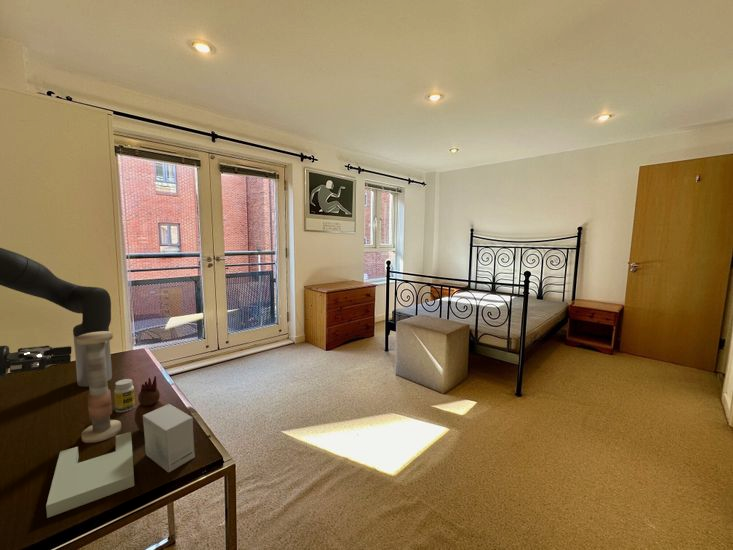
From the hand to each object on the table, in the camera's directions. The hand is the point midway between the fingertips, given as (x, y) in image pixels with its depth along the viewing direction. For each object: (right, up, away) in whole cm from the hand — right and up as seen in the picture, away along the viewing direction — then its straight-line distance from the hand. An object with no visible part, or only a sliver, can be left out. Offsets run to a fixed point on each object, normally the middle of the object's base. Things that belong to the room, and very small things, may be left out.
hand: (71, 354), depth 86 cm
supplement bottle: (+8, -19, +9) cm, 22 cm away
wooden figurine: (+22, -20, 0) cm, 30 cm away
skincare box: (+33, -22, -10) cm, 41 cm away
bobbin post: (+11, -20, -3) cm, 23 cm away
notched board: (+21, -22, -16) cm, 34 cm away
